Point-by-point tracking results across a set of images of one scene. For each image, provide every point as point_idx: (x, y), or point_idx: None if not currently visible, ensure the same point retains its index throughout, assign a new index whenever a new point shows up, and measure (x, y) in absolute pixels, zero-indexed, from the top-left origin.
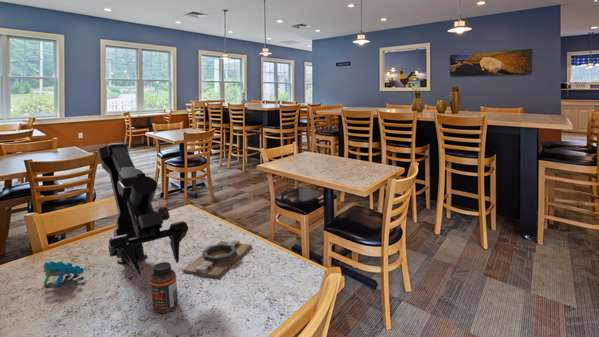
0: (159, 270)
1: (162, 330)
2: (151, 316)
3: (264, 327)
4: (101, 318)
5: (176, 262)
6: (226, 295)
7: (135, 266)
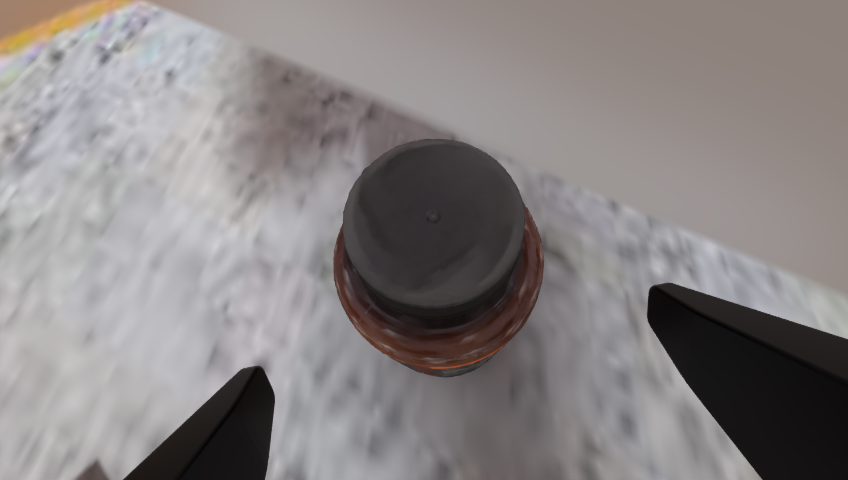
0: (466, 144)
1: None
2: None
3: (149, 23)
4: None
5: (273, 399)
6: (151, 269)
7: (747, 309)
